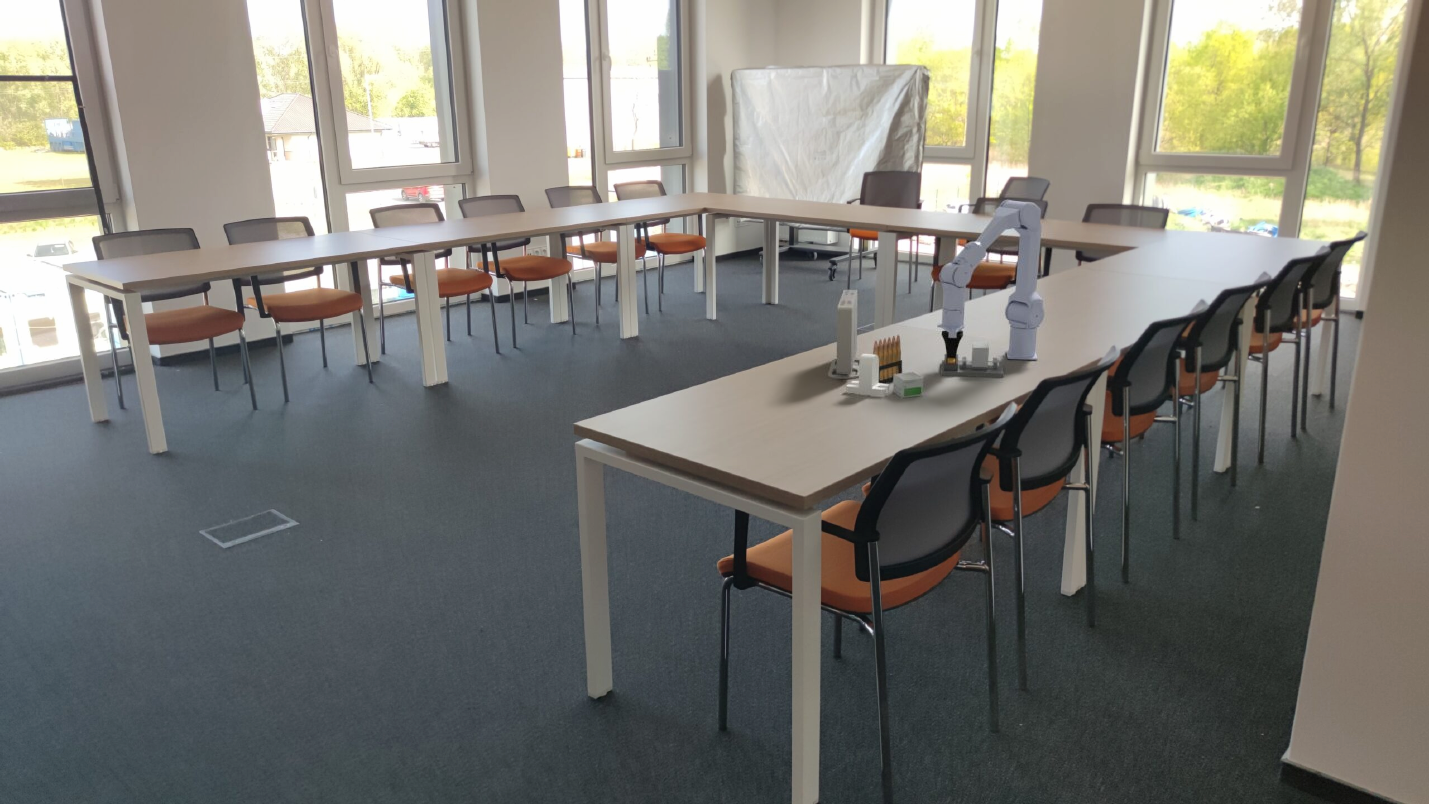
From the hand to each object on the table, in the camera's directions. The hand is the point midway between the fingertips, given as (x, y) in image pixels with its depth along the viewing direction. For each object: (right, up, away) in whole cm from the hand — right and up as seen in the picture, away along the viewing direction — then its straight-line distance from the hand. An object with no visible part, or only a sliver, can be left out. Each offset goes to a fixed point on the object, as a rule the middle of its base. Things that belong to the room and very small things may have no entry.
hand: (951, 357), depth 260 cm
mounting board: (+5, -3, 0) cm, 6 cm away
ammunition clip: (-19, -7, -8) cm, 22 cm away
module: (+7, -2, -1) cm, 8 cm away
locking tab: (0, -2, +1) cm, 2 cm away
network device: (-28, -3, +5) cm, 28 cm away
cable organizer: (-25, -10, -16) cm, 32 cm away
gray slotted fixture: (+5, -2, -1) cm, 6 cm away
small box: (-16, -10, -19) cm, 26 cm away
